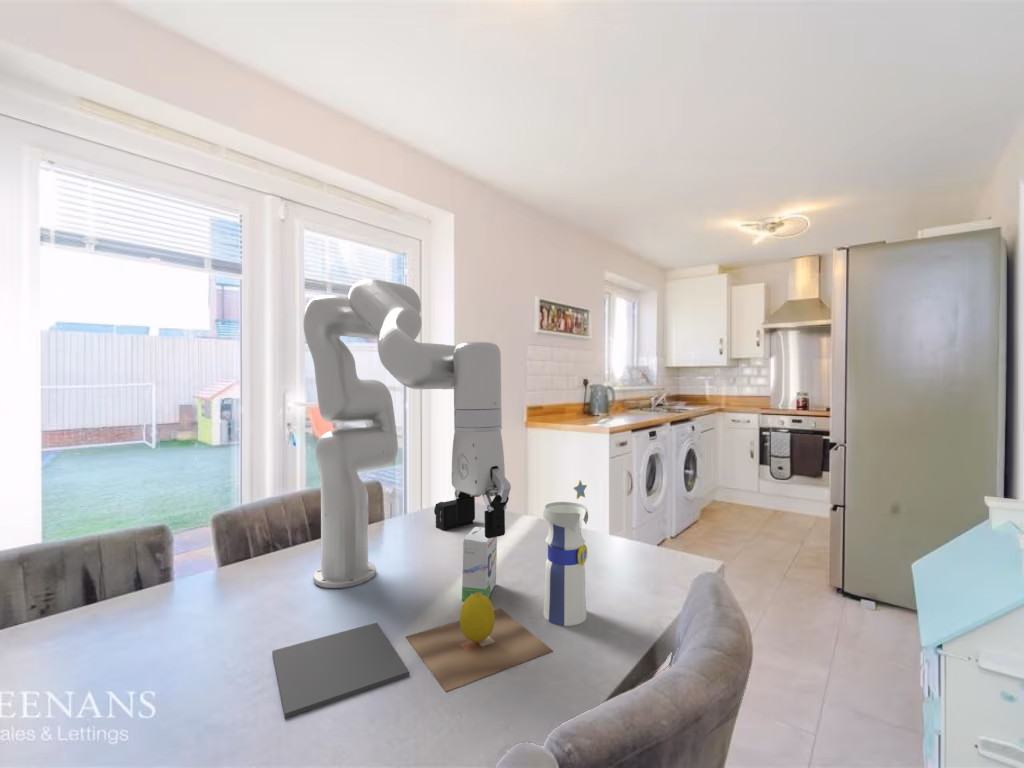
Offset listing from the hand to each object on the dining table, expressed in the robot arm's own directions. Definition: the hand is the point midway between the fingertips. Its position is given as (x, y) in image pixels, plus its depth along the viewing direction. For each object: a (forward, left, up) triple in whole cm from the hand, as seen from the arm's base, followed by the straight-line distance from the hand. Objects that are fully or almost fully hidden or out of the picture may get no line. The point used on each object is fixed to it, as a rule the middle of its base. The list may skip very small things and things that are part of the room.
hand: (479, 528), depth 74 cm
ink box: (-16, +9, -19) cm, 26 cm away
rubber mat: (-6, -20, -19) cm, 28 cm away
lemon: (0, 0, -19) cm, 19 cm away
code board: (0, 0, -19) cm, 19 cm away
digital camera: (-59, +23, -19) cm, 66 cm away
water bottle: (0, +18, -19) cm, 26 cm away
